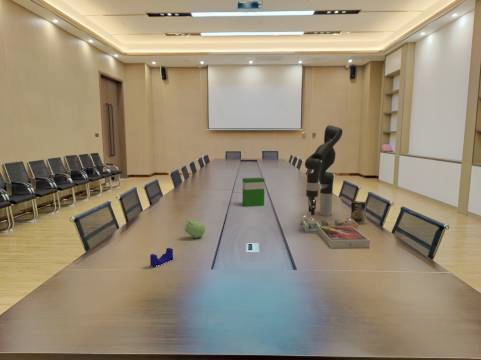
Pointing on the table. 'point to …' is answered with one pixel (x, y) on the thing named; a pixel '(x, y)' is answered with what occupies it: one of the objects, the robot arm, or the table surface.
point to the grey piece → (325, 223)
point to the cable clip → (161, 258)
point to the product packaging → (343, 237)
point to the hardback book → (253, 192)
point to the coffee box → (358, 212)
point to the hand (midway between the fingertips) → (311, 213)
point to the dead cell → (349, 220)
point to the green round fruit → (195, 229)
